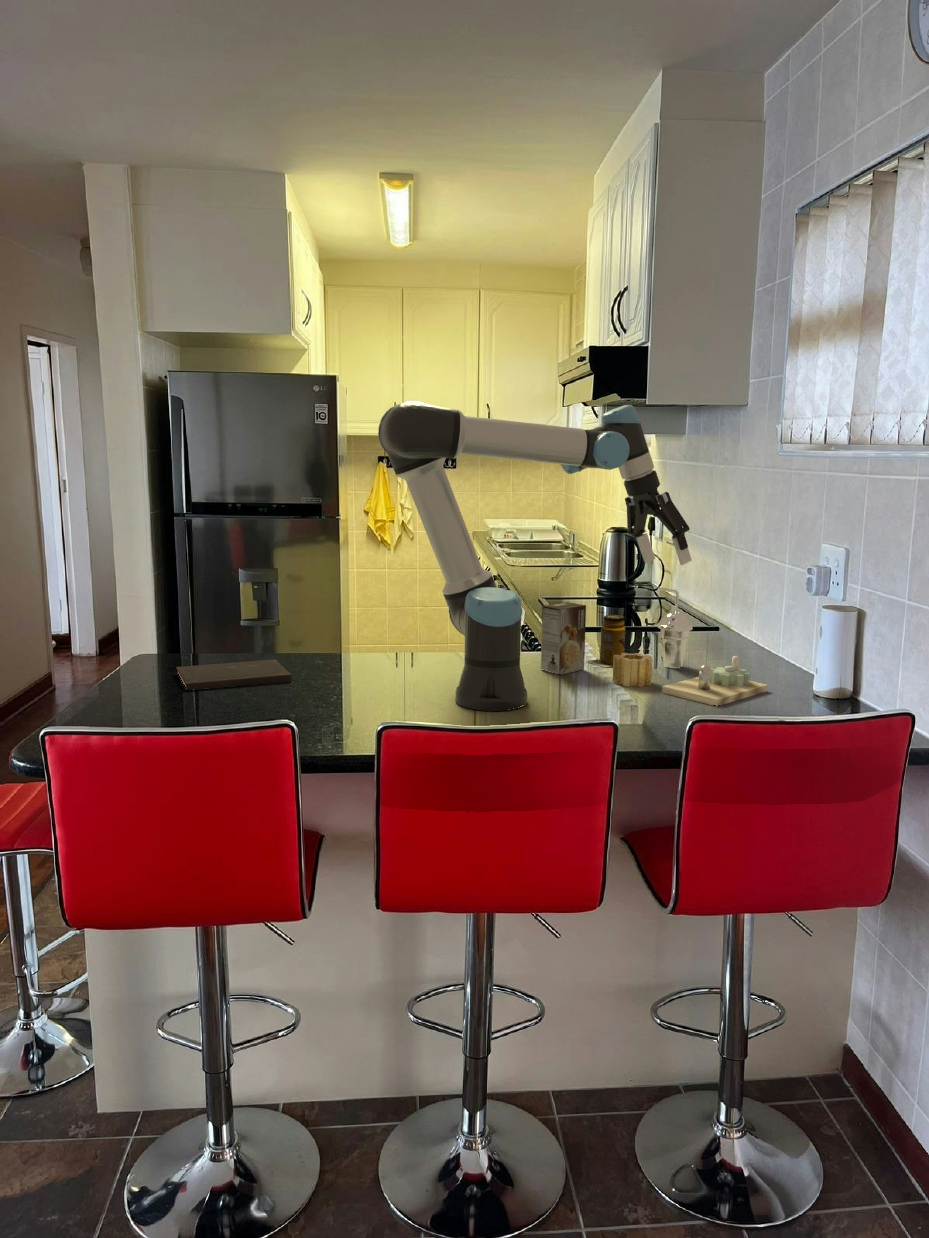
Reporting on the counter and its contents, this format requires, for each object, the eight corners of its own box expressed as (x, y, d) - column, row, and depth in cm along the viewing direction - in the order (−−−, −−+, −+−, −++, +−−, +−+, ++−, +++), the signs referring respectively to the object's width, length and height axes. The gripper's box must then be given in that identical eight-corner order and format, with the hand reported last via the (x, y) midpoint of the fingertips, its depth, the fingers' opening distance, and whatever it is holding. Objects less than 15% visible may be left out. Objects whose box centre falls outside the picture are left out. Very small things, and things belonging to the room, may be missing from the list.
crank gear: (734, 688, 198) (736, 664, 197) (701, 680, 205) (702, 657, 204) (756, 682, 204) (757, 659, 203) (722, 675, 210) (724, 652, 209)
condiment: (630, 664, 227) (633, 617, 224) (605, 668, 222) (608, 620, 220) (611, 658, 233) (613, 612, 230) (586, 662, 228) (588, 615, 226)
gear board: (716, 706, 189) (717, 699, 189) (662, 692, 200) (662, 686, 199) (767, 691, 202) (767, 684, 202) (713, 678, 213) (713, 672, 212)
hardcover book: (176, 676, 209) (176, 667, 208) (275, 668, 218) (275, 659, 218) (186, 694, 194) (185, 683, 194) (291, 684, 204) (291, 674, 203)
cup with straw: (688, 671, 220) (694, 590, 216) (651, 668, 222) (655, 588, 219) (691, 664, 228) (696, 585, 224) (655, 660, 230) (659, 583, 227)
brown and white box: (565, 665, 224) (567, 601, 221) (584, 669, 220) (587, 605, 217) (539, 670, 218) (541, 605, 215) (559, 675, 214) (561, 608, 211)
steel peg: (705, 690, 196) (707, 667, 195) (695, 688, 198) (697, 664, 197) (712, 688, 198) (714, 665, 197) (702, 686, 200) (704, 663, 199)
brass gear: (634, 689, 202) (636, 663, 201) (605, 681, 209) (606, 656, 208) (658, 683, 208) (660, 657, 207) (628, 675, 214) (629, 651, 213)
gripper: (686, 464, 191) (715, 556, 196) (620, 472, 214) (648, 554, 219) (659, 477, 189) (689, 570, 194) (595, 483, 211) (624, 566, 217)
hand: (667, 562), depth 207 cm, fingers open, 13 cm apart
